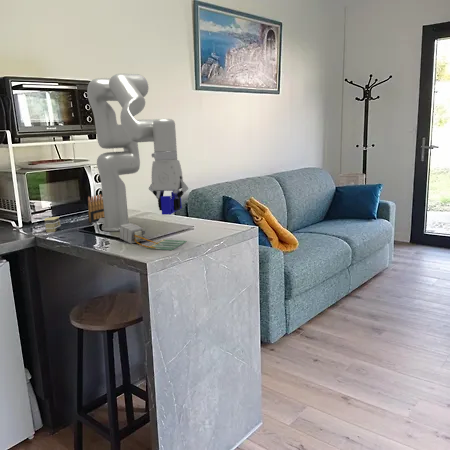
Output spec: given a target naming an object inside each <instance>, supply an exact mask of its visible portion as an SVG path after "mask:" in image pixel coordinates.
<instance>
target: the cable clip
mask: <svg viewBox="0 0 450 450" xmlns="http://www.w3.org/2000/svg"><path fill="white" fill-rule="evenodd" d="M170 192H171V195H163V196H161V209H162V210H161V215H162V216H163V215H167V216H168V215H172V214H174V213H176V212H178V211H179V210H181V209H182V197H181V198H180V204H181V207H180V209H179V210H177V211H175V210H174V201H173V200H174V199H175V197H174V194H173V191H170Z"/></svg>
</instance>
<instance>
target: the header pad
mask: <svg viewBox="0 0 450 450" xmlns="http://www.w3.org/2000/svg"><path fill="white" fill-rule="evenodd" d="M187 242H188V240H183V239H182V240H178V239H162V240H160V241H158V242H157V241H156V243H159V244H162V245H164V246H162V245H159V244H156V243H153V244H152V245H149V246H150V247H155V248H160V249H158V250H159V251H160V250H161V251H163V250H164V251H172V250H174V249H176V248H178V247H180V246H182V245H183V244H185V243H187ZM150 247H146V249H147V250H156V249H155V248H150Z"/></svg>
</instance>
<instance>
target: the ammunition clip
mask: <svg viewBox="0 0 450 450" xmlns="http://www.w3.org/2000/svg"><path fill="white" fill-rule="evenodd" d="M87 208H88V211H87V217H88V224H93V223H98V220H99V219H100V218H105V216H104V205H103V195H102V194H101V193H100V194H97V195H95V194H94V196H93V195H91V197H90V196H88V197H87Z"/></svg>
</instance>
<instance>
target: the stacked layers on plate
mask: <svg viewBox="0 0 450 450" xmlns="http://www.w3.org/2000/svg"><path fill="white" fill-rule="evenodd" d="M59 218H60V216H52V217H50V216H49V217H45V218H44V219H43V220H44V225H45V227H44V229H45V231H46V233H55V232H56V231H57V228H59V227H61V226H62V225H61V223H60V222H61V219H59Z"/></svg>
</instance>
